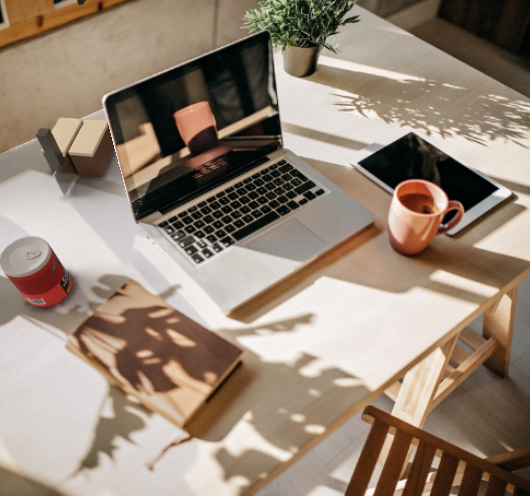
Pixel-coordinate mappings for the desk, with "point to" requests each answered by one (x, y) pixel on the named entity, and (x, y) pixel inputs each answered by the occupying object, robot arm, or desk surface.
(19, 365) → the desk surface
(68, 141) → the cake
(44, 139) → the slicer
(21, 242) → the canned food
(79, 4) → the robot arm
